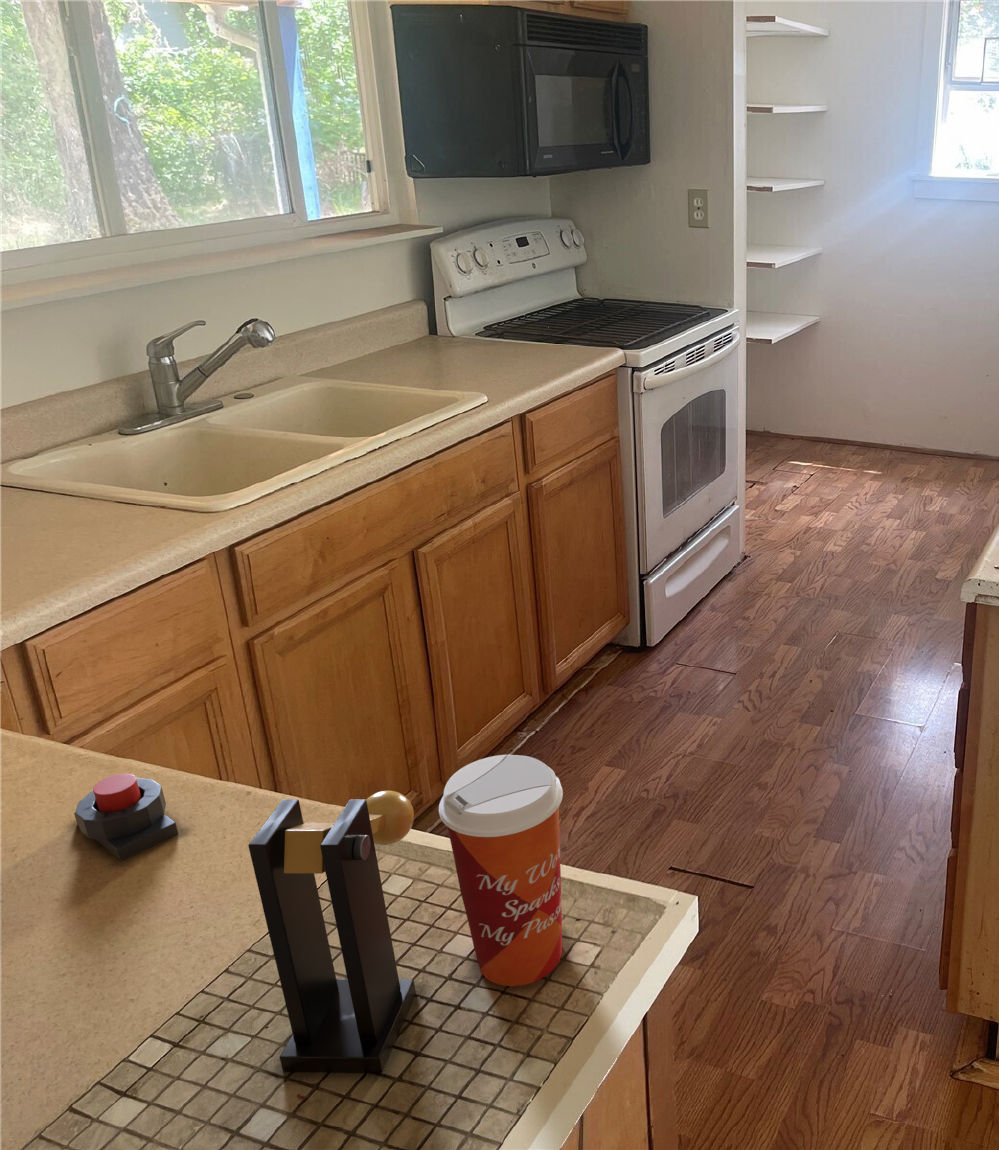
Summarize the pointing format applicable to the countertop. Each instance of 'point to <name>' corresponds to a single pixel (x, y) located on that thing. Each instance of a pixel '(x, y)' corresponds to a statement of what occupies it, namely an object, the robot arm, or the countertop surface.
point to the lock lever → (303, 841)
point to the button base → (128, 822)
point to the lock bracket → (301, 949)
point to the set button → (116, 792)
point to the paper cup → (508, 863)
